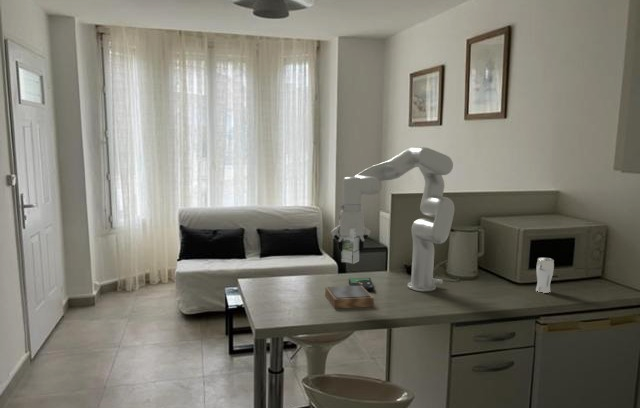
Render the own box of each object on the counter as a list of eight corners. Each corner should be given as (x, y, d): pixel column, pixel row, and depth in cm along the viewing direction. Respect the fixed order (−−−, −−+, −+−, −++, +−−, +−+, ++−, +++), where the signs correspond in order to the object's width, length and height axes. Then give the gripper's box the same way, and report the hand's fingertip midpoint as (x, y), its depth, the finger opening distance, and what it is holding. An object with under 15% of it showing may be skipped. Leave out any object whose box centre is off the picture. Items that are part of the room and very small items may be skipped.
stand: (361, 293, 203) (361, 284, 202) (373, 306, 187) (373, 296, 187) (325, 295, 199) (325, 286, 199) (334, 308, 184) (334, 298, 183)
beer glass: (536, 293, 210) (539, 260, 208) (533, 288, 217) (535, 256, 215) (553, 294, 208) (556, 261, 207) (549, 290, 215) (552, 257, 213)
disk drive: (374, 293, 206) (370, 283, 221) (374, 287, 205) (370, 277, 220) (350, 293, 206) (348, 282, 220) (351, 287, 205) (348, 277, 220)
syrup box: (359, 261, 192) (360, 226, 190) (353, 264, 187) (354, 228, 185) (347, 259, 195) (348, 225, 193) (340, 262, 190) (341, 227, 188)
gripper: (332, 209, 183) (331, 253, 185) (375, 208, 187) (373, 252, 189) (328, 206, 190) (327, 249, 192) (369, 206, 194) (367, 248, 196)
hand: (350, 250), depth 191 cm, fingers closed on syrup box, 7 cm apart
